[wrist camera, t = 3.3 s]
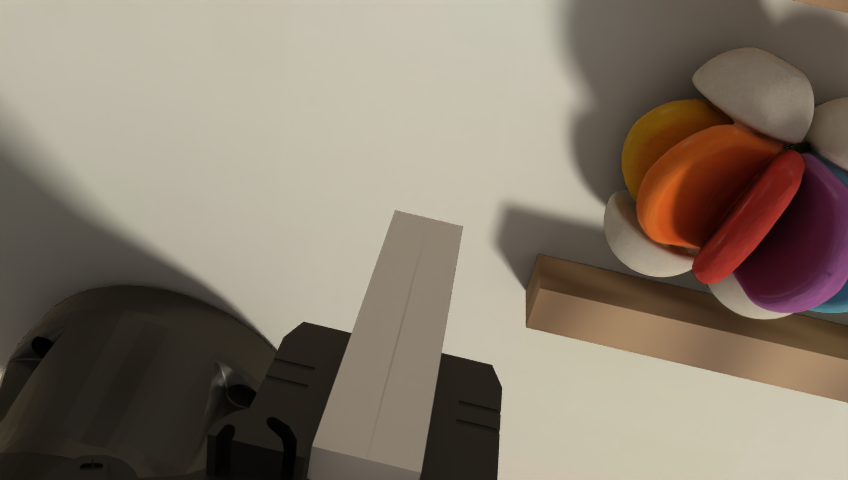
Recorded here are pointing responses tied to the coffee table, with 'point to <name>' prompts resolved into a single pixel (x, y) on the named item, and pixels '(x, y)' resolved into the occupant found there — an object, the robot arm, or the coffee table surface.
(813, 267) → the rainbow sensory ball
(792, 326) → the bay
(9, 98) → the coffee table surface
